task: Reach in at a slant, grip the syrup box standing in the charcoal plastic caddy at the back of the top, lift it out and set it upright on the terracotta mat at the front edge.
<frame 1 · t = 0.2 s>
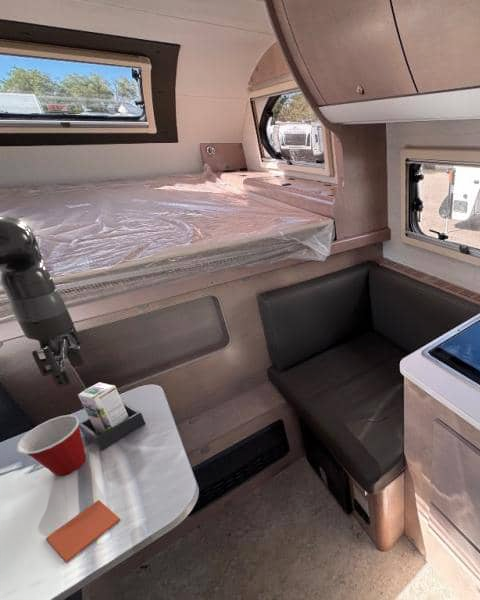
hand: (72, 374, 76), 25 cm above the table, tool pointing down, fingers open, 8 cm apart
syrup box: (115, 430, 92), resting in caddy
caddy: (115, 429, 92), on the table
mat: (84, 529, 68), on the table
plastic cup: (70, 467, 81), on the table
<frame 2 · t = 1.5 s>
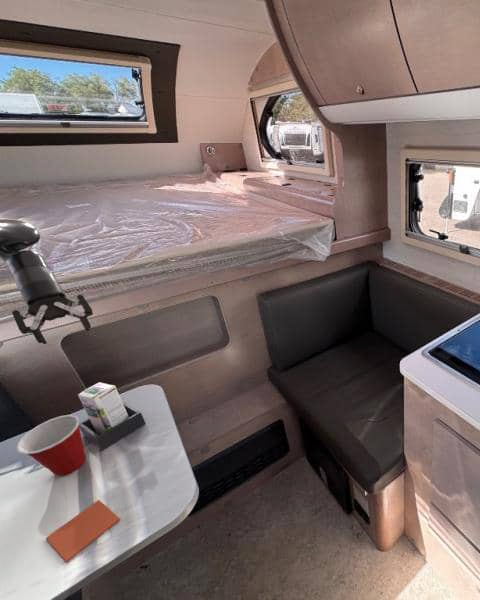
hand: (67, 336, 87), 27 cm above the table, tool tilted 45°, fingers open, 8 cm apart
nothing on the table moved.
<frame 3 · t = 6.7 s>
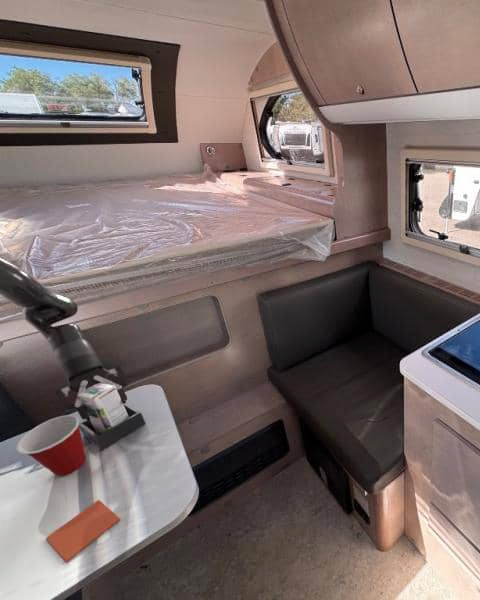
hand: (107, 410, 88), 8 cm above the table, tool tilted 45°, fingers closed on syrup box, 7 cm apart
syrup box: (115, 430, 92), resting in caddy, touching gripper
everything else where it was.
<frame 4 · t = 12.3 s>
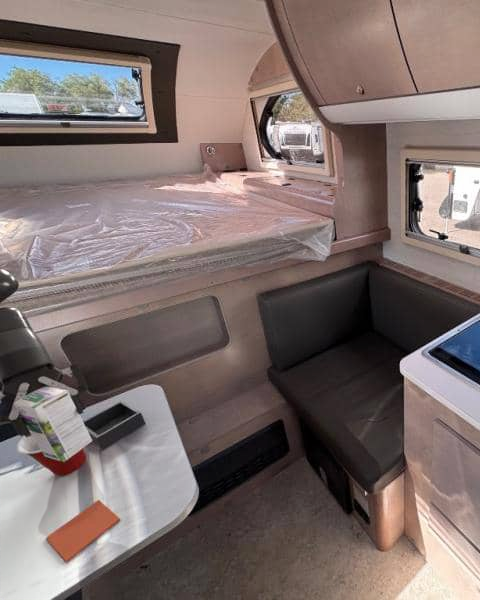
hand: (56, 423, 66), 22 cm above the table, tool tilted 45°, fingers closed on syrup box, 7 cm apart
syrup box: (70, 449, 70), point 14 cm above the table, touching gripper
everything else where it was.
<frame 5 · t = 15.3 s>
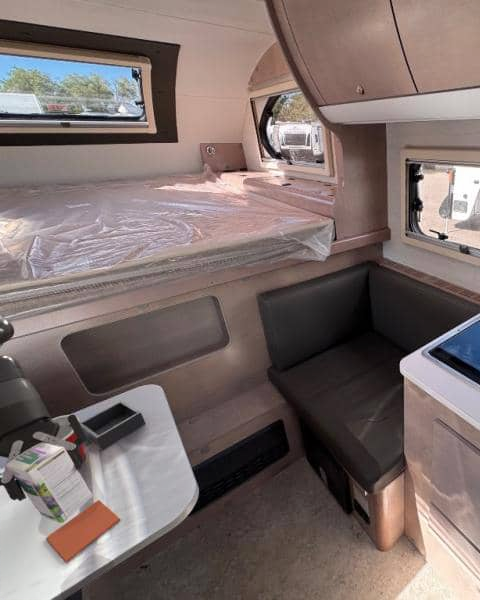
hand: (52, 483, 61), 16 cm above the table, tool tilted 45°, fingers closed on syrup box, 7 cm apart
syrup box: (69, 506, 65), point 8 cm above the table, touching gripper
everything else where it was.
when the fingers open (8 cm above the table, at t = 18.0 s): syrup box stays where it is, resting on mat.
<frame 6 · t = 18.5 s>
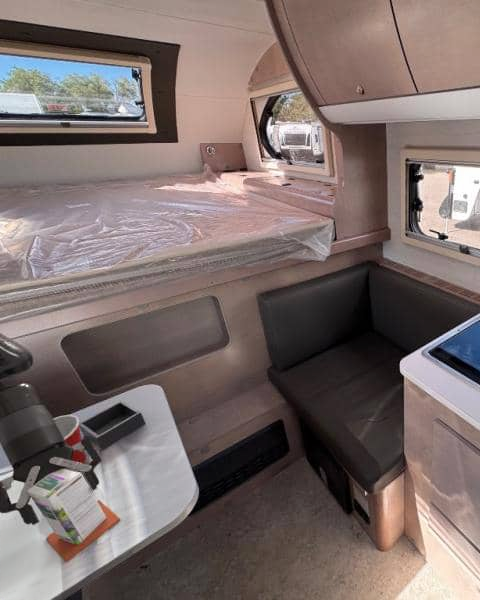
hand: (67, 505, 63), 9 cm above the table, tool tilted 45°, fingers open, 8 cm apart
syrup box: (84, 527, 68), resting on mat
everything else where it was.
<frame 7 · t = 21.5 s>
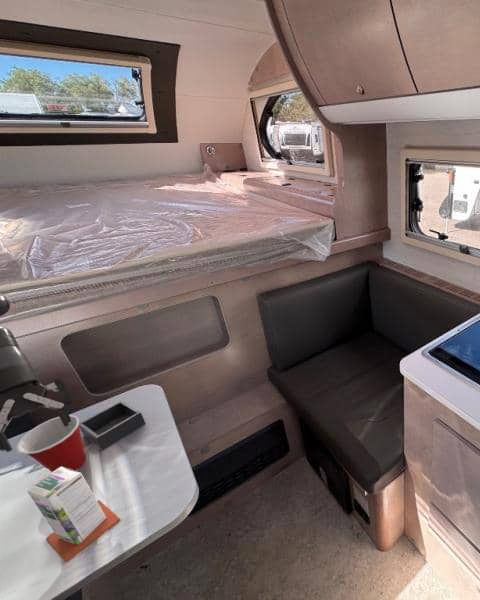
hand: (39, 437, 68), 17 cm above the table, tool tilted 45°, fingers open, 8 cm apart
nothing on the table moved.
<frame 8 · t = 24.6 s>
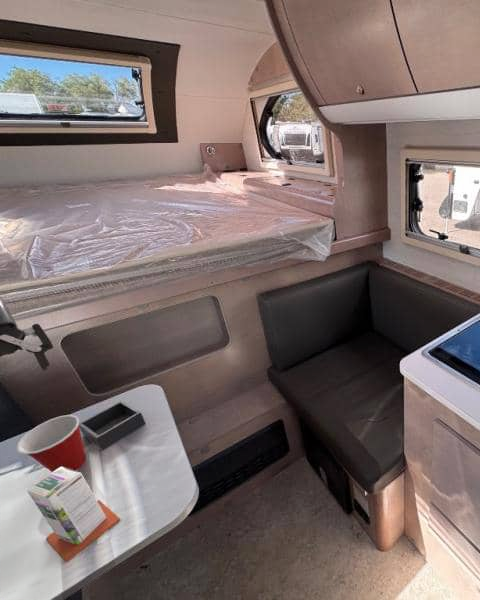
hand: (16, 378, 68), 29 cm above the table, tool tilted 45°, fingers open, 8 cm apart
nothing on the table moved.
at the end: syrup box inside the target area on the mat (0.1 cm from its centre), point 0.2 cm above the mat's base; syrup box tilted 0°; the gripper is holding nothing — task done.
